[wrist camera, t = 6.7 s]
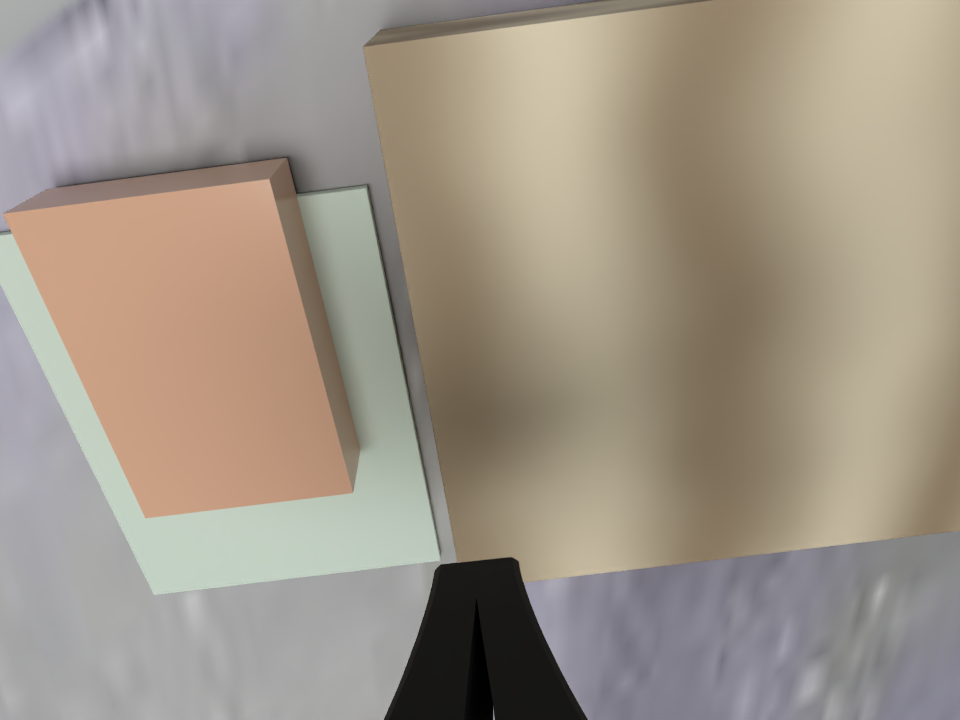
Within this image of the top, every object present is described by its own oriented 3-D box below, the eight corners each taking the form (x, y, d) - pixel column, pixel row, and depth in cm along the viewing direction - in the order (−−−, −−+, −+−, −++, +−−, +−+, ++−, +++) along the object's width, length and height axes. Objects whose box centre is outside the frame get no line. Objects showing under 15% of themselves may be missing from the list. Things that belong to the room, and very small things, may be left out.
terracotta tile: (2, 213, 16) (47, 188, 17) (145, 518, 20) (169, 473, 22) (269, 179, 15) (287, 157, 17) (353, 493, 20) (360, 450, 22)
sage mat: (367, 185, 18) (366, 188, 18) (440, 554, 24) (440, 560, 24) (-16, 234, 18) (-23, 238, 18) (157, 588, 24) (154, 594, 24)
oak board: (989, -52, 16) (1142, -57, 12) (885, 443, 23) (965, 530, 19) (380, 29, 16) (362, 47, 13) (459, 495, 23) (462, 589, 20)
